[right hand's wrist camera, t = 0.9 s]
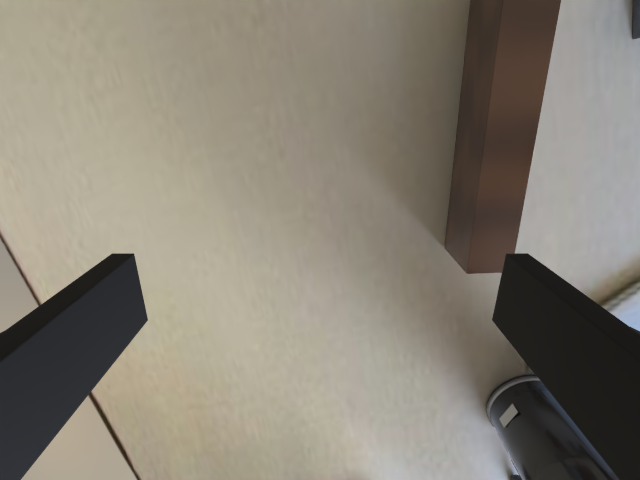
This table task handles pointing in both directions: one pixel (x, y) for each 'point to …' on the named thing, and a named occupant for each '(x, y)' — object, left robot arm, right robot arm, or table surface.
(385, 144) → the table surface
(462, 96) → the walnut bar
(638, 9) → the slate cube
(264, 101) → the table surface
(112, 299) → the right robot arm
